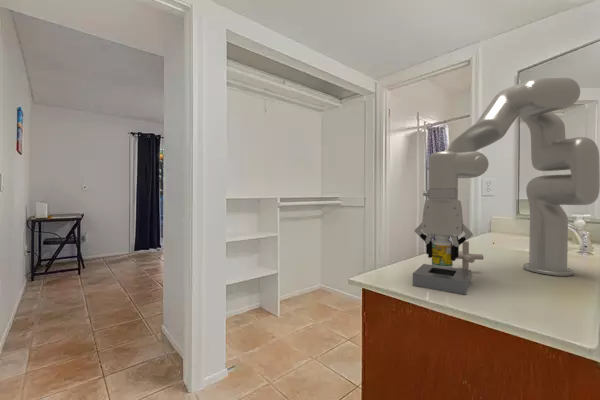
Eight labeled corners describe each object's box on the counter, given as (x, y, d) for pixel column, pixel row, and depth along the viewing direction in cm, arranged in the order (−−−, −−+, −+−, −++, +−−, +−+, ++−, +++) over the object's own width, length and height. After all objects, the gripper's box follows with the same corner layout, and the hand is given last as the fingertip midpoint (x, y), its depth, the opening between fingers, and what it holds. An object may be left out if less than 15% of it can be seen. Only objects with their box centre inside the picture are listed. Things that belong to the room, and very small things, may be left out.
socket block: (423, 274, 91) (423, 263, 91) (470, 281, 83) (470, 270, 83) (412, 285, 80) (412, 273, 80) (465, 295, 72) (465, 281, 72)
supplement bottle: (456, 267, 80) (457, 233, 80) (443, 269, 78) (444, 235, 77) (440, 263, 85) (440, 231, 85) (427, 265, 83) (427, 232, 82)
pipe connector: (489, 276, 88) (489, 244, 88) (454, 275, 90) (454, 243, 90) (475, 268, 98) (476, 239, 97) (444, 267, 100) (444, 238, 99)
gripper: (408, 195, 83) (407, 256, 83) (476, 195, 73) (475, 265, 73) (414, 195, 89) (414, 252, 89) (479, 195, 79) (478, 260, 79)
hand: (442, 257), depth 81 cm, fingers closed on supplement bottle, 5 cm apart
